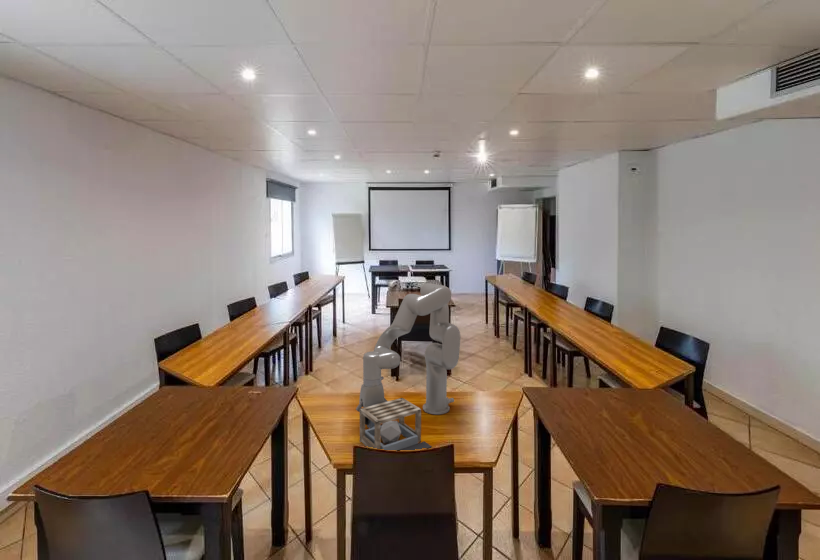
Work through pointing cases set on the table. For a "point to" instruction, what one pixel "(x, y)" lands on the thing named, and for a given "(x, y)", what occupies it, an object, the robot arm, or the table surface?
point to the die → (390, 432)
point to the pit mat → (418, 446)
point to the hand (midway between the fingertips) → (372, 421)
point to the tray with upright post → (408, 441)
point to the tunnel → (389, 418)
